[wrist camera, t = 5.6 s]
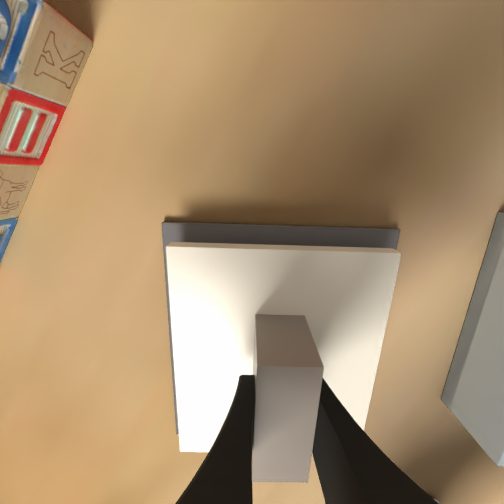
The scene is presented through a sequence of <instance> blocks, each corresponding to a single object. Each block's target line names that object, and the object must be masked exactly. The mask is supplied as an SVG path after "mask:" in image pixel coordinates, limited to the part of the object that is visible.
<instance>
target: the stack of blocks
mask: <svg viewBox="0 0 504 504" xmlns="http://www.w3.org/2000/svg"><path fill="white" fill-rule="evenodd" d="M92 47H93V42H92V40H91V39H90V38H88V37H87V36H86V35H85V34H84V33H83V32H81V31H80V30H79V29H78V28H76V27H75V26H74V25H73V24H72V23H71V22H69V21H68V20H67V19H66V18H65V17H64V16H63V15H61V14H60V13H59V12H58V11H57V10H55V9H54V8H53V7H52V6H51V5H49V4H48V3H47V2H45V1H44V0H0V261H1V259H2V257H3V255H4V252H5V249H6V247H7V245H8V243H9V240H10V237H11V235H12V233H13V230H14V228H15V226H16V224H17V221H18V216H19V214H20V212H21V210H22V208H23V205H24V203H25V200H26V198H27V195H28V193H29V191H30V188H31V186H32V183H33V181H34V179H35V176H36V174H37V171H38V168H39V166H40V165H42V163H43V161H44V159H45V157H46V154H47V152H48V150H49V147H50V145H51V142H52V140H53V138H54V135H55V133H56V131H57V128H58V126H59V123H60V121H61V119H62V116H63V114H64V111H65V109H66V106H67V105H68V103H69V101H70V99H71V97H72V94H73V92H74V90H75V87H76V85H77V83H78V80H79V78H80V76H81V73H82V71H83V68H84V66H85V64H86V61H87V59H88V57H89V54H90V52H91V49H92Z"/></svg>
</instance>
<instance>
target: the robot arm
mask: <svg viewBox="0 0 504 504" xmlns="http://www.w3.org/2000/svg"><path fill="white" fill-rule="evenodd" d="M254 411H255V375H241V376H239V381H238V386H237V389H236V393H235V396H234V399H233V402H232V404H231V407H230V409H229V412H228V414H227V417H226V419H225V421H224V423H223V425H222V427H221V430H220V432H219V434H218V436H217V438H216V440H215V442H214V444H213V446H212V447H211V449H210V451H209V453H208V455H207V456H206V458H205V460H204V461H203V463H202V465H201V466H200V468H199V470H198V471H197V473H196V474H195V476H194V478H193V479H192V481H191V482H190V484H189V485H188V487H187V488H186V489H185V491H184V492H183V494H182V495H181V497H180V498H179V499H178V501H177V502H176V504H253V503H252V451H253V434H254ZM312 453H313V457H314V461H315V465H316V468H317V472H318V476H319V480H320V483H321V487H322V491H323V495H324V498H325V503H326V504H440V503H439V502H438V500H436V499H433V498H432V497H430V496H429V495H428V494H427V493H426V492H425V491H424V490H422V489H421V488H420V487H419V486H418V485H417V484H416V483H415V482H413V481H412V480H411V479H410V478H409V477H408V476H407V475H406V474H405V473H403V472H402V471H401V470H400V469H399V468H398V467H397V466H396V465H395V464H394V463H393V462H392V461H391V460H390V459H389V458H388V457H387V456H386V455H385V454H384V453H383V452H382V451H381V450H380V449H379V447H378V446H377V445H376V444H375V443H374V442H373V441H372V440H371V439H370V438H369V436H368V435H367V434H366V433H365V432H364V431H363V430H362V428H361V427H360V426H359V425H358V424H357V422H356V421H355V420H354V419H353V417H352V416H351V415H350V414H349V412H348V411H347V410H346V409H345V407H344V406H343V405H342V403H341V402H340V401H339V399H338V398H337V397H336V395H335V394H334V393H333V391H332V390H331V388H330V387H329V386H328V384H327V383H326V381H325V380H324V378H322V385H321V392H320V400H319V407H318V414H317V421H316V428H315V435H314V442H313V450H312Z"/></svg>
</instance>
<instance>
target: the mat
mask: <svg viewBox="0 0 504 504" xmlns="http://www.w3.org/2000/svg"><path fill="white" fill-rule="evenodd" d="M399 233H400V230H399V229H390V228H357V227H323V226H290V225H257V224H223V223H190V222H162V236H163V250H164V264H165V278H166V292H167V307H168V321H169V335H170V349H171V363H172V378H173V392H174V406H175V420H176V434H179V429H178V414H177V400H176V386H175V372H174V357H173V343H172V329H171V314H170V300H169V286H168V272H167V257H166V246H167V245H168V244H169V243H170V242H195V243H229V244H264V245H299V246H334V247H368V248H393V249H395V250H396V248H397V243H398V238H399Z"/></svg>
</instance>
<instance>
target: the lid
mask: <svg viewBox="0 0 504 504" xmlns="http://www.w3.org/2000/svg"><path fill="white" fill-rule="evenodd" d="M401 255H402V253H400V252H399V251H397V250H395V249H393V248H368V247H334V246H299V245H264V244H229V243H195V242H170V243H169V244H168V245H167V246H166V257H167V272H168V286H169V300H170V314H171V329H172V343H173V357H174V372H175V386H176V400H177V414H178V429H179V443H180V452H209V451H210V449H211V447H212V446H213V444H214V442H215V440H216V438H217V436H218V434H219V432H220V430H221V427H222V425H223V423H224V421H225V419H226V417H227V414H228V412H229V409H230V407H231V404H232V402H233V399H234V396H235V393H236V389H237V386H238V381H239V376H241V375H255V411H254V434H253V451H252V482H308V478H309V471H310V464H311V457H312V454H313V453H312V450H313V442H314V435H315V428H316V421H317V414H318V407H319V400H320V392H321V385H322V378H324V380H325V381H326V383H327V384H328V386H329V387H330V388H331V390H332V391H333V393H334V394H335V395H336V397H337V398H338V399H339V401H340V402H341V403H342V405H343V406H344V407H345V409H346V410H347V411H348V412H349V414H350V415H351V416H352V417H353V419H354V420H355V421H356V422H357V424H358V425H359V426H360V427H361V428H362V430H363V431H364V427H365V422H366V418H367V413H368V408H369V404H370V399H371V394H372V390H373V385H374V380H375V376H376V371H377V366H378V362H379V357H380V352H381V348H382V343H383V338H384V334H385V329H386V324H387V320H388V315H389V310H390V306H391V301H392V296H393V292H394V287H395V282H396V278H397V273H398V269H399V264H400V259H401Z"/></svg>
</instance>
